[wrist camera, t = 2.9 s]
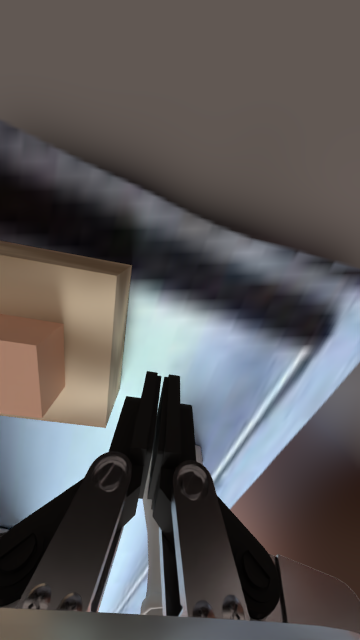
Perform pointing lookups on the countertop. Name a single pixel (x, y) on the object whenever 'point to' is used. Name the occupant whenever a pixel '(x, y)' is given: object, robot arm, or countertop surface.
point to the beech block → (73, 322)
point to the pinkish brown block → (30, 365)
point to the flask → (155, 555)
